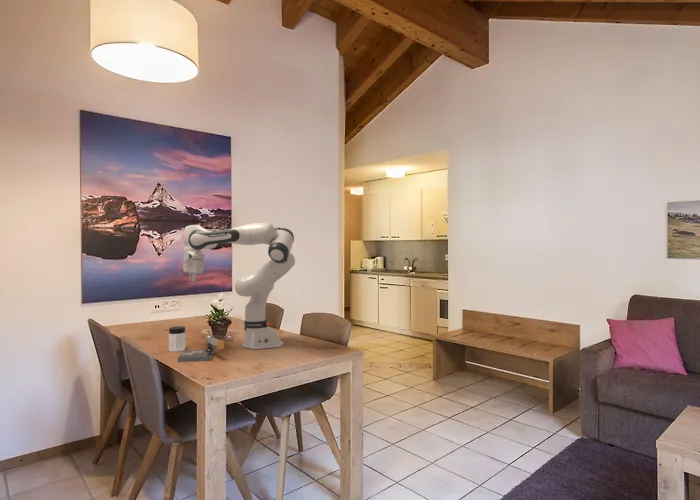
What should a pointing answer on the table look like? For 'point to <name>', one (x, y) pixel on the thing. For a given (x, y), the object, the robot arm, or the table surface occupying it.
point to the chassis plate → (197, 354)
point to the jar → (177, 339)
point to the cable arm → (215, 342)
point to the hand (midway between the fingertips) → (192, 281)
